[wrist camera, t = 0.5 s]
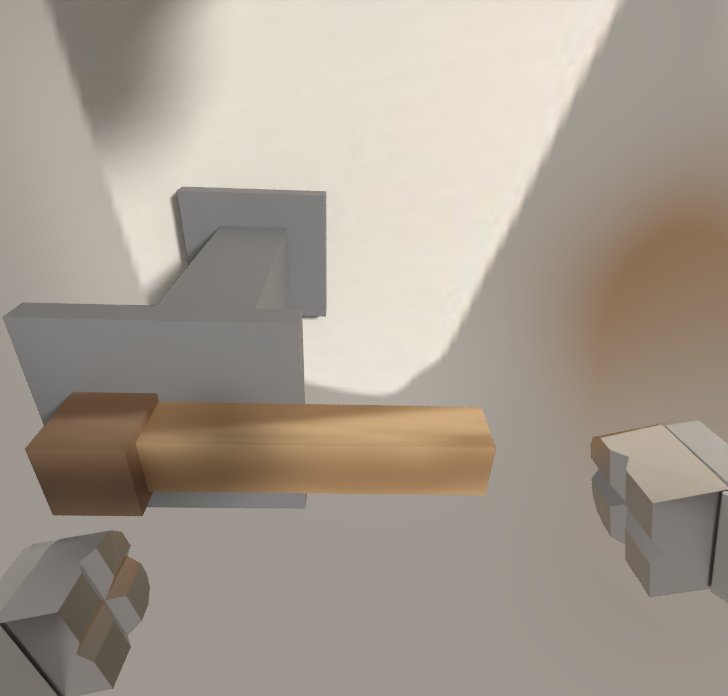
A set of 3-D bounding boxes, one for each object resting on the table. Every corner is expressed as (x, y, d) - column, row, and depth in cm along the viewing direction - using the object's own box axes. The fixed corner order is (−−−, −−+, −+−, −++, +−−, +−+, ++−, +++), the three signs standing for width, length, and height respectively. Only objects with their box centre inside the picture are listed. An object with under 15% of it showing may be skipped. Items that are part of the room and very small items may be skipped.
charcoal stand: (181, 186, 44) (2, 317, 21) (326, 191, 44) (298, 324, 22) (199, 306, 50) (75, 506, 27) (326, 310, 50) (305, 508, 28)
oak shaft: (73, 392, 23) (24, 448, 20) (482, 399, 24) (504, 455, 21) (93, 453, 25) (53, 515, 22) (470, 458, 26) (488, 519, 23)
